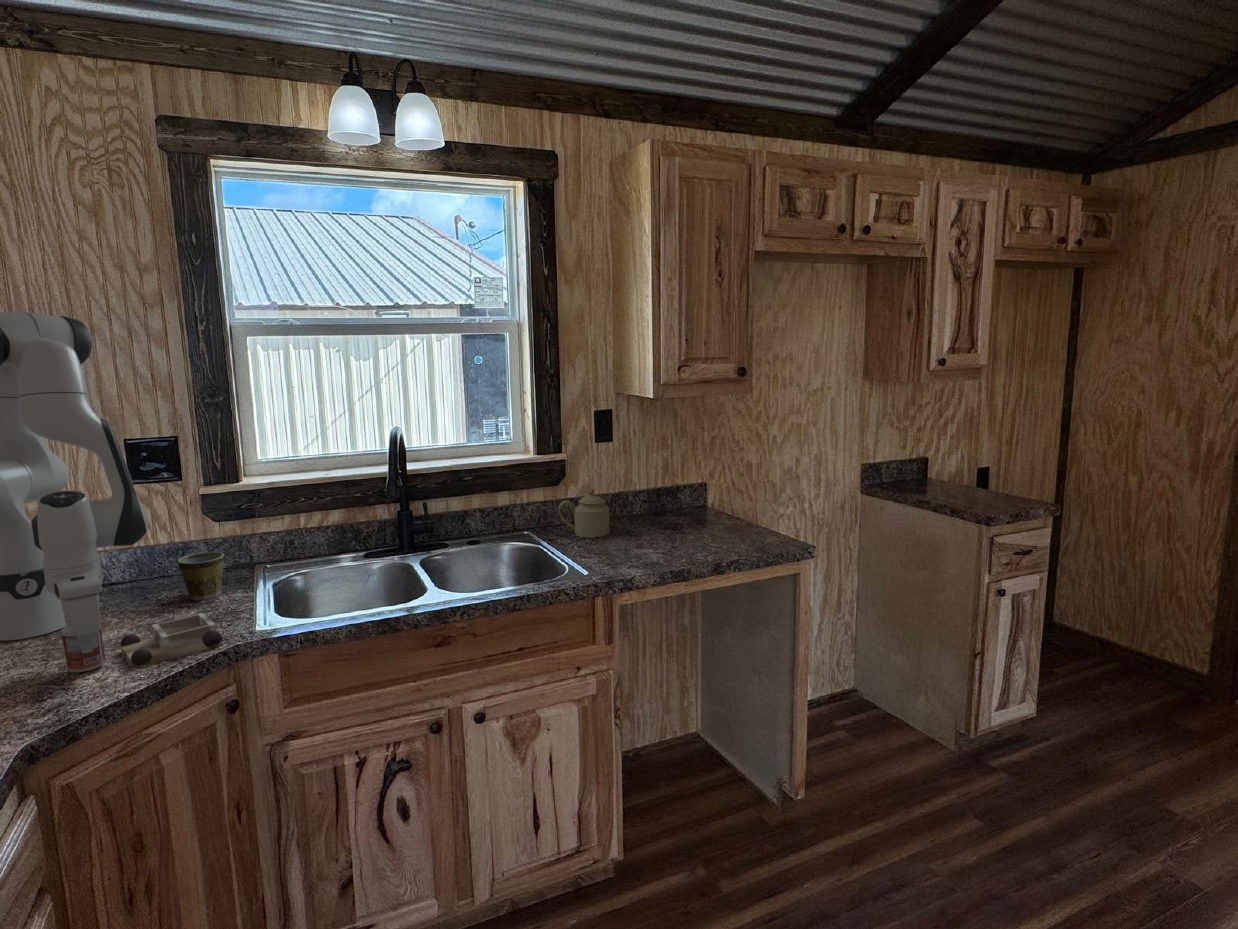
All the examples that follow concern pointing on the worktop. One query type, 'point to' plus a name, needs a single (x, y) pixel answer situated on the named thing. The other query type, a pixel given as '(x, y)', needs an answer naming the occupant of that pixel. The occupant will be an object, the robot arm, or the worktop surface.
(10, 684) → the worktop surface
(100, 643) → the pill bottle
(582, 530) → the sugar bowl
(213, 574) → the ceramic cup
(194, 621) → the beige toy truck
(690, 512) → the worktop surface
